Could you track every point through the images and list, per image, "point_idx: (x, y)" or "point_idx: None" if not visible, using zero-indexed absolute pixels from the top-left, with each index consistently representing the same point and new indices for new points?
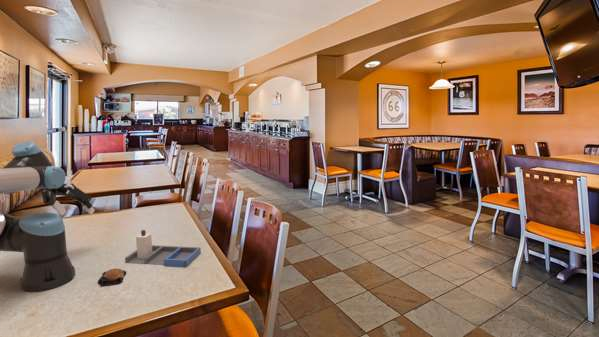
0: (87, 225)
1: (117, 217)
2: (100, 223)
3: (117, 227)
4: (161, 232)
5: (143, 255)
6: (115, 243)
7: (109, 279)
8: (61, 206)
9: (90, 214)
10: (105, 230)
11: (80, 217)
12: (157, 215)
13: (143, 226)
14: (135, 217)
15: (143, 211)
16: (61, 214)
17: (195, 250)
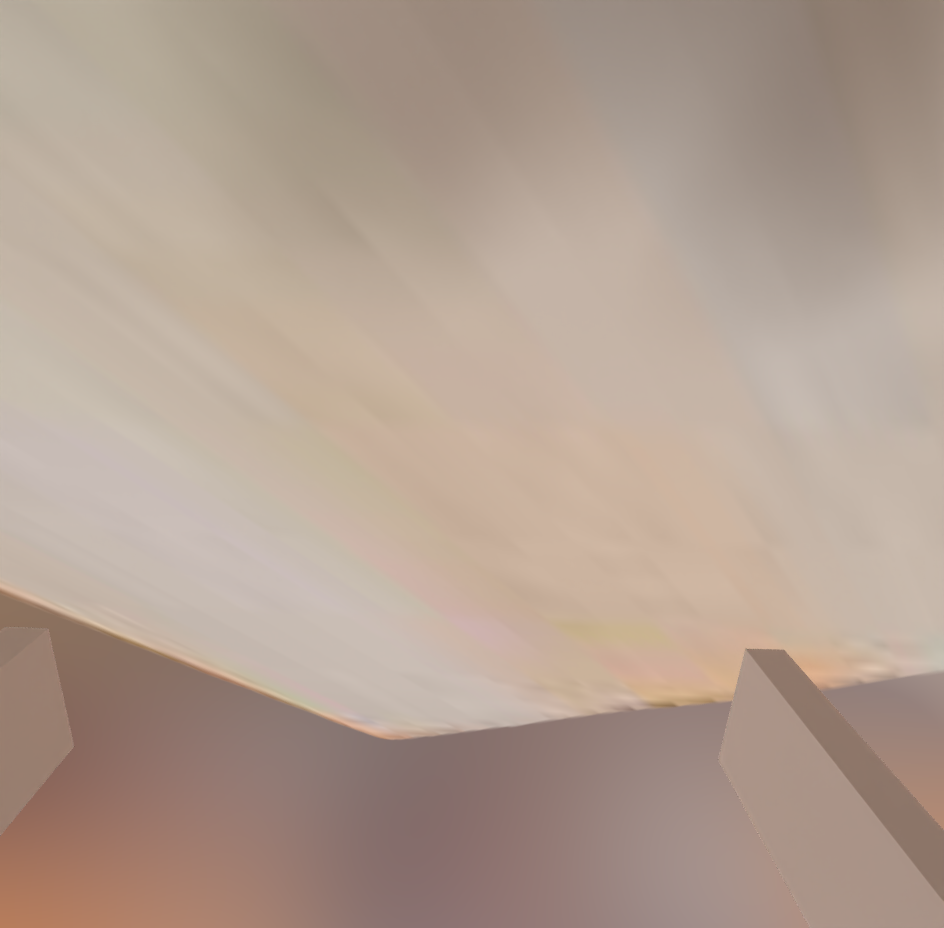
0: (703, 611)
1: (578, 669)
2: (630, 626)
3: (470, 585)
4: (79, 522)
5: None
6: (195, 353)
7: None
8: (823, 922)
9: (5, 639)
10: (519, 555)
11: None
12: (371, 673)
13: (309, 589)
14: (472, 665)
15: (488, 702)
16: (771, 674)
17: None
